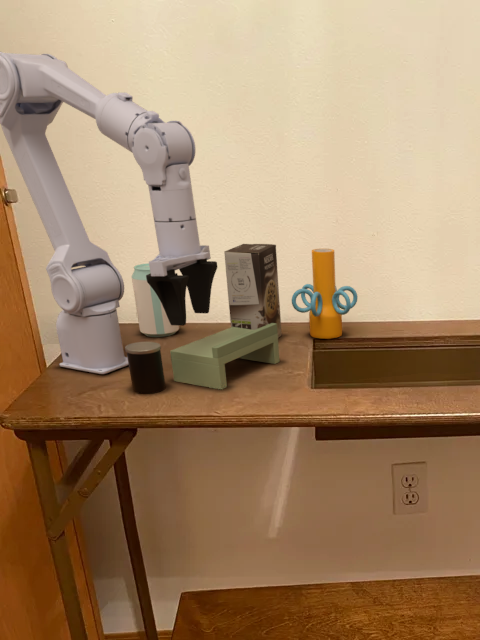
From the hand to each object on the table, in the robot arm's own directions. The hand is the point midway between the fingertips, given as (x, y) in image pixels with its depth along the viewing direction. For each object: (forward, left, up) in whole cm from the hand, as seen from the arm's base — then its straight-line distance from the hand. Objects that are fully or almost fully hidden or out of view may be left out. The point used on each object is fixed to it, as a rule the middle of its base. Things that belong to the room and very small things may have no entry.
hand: (190, 318), depth 117 cm
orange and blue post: (+3, +34, -10) cm, 36 cm away
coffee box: (-6, +25, -10) cm, 28 cm away
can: (-25, +21, -10) cm, 34 cm away
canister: (-6, -5, -10) cm, 12 cm away
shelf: (0, +8, -10) cm, 13 cm away
